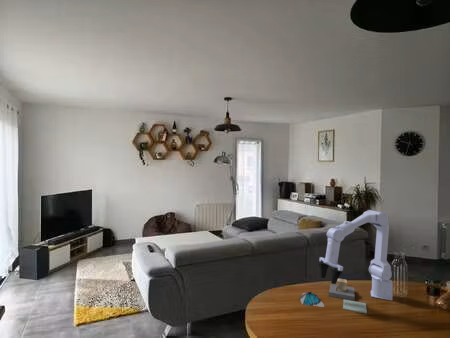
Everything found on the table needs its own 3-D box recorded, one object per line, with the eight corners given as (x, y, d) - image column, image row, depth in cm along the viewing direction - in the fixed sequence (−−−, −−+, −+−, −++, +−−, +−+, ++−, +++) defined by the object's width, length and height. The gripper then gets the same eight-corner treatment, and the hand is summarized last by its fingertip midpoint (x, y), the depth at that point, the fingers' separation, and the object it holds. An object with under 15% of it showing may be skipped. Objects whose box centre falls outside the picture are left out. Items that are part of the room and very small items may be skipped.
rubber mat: (365, 304, 142) (365, 303, 142) (366, 313, 133) (366, 312, 133) (343, 300, 146) (343, 299, 146) (342, 309, 136) (342, 308, 136)
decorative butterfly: (296, 290, 148) (315, 285, 148) (299, 302, 148) (318, 298, 148) (300, 299, 138) (321, 294, 138) (304, 312, 138) (324, 307, 138)
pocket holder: (354, 291, 157) (354, 287, 157) (354, 300, 146) (354, 296, 146) (330, 287, 161) (330, 283, 161) (328, 296, 150) (328, 292, 150)
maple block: (346, 292, 155) (346, 279, 155) (346, 296, 151) (346, 282, 151) (337, 291, 156) (337, 278, 156) (337, 294, 152) (337, 281, 152)
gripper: (316, 248, 149) (312, 274, 149) (336, 256, 136) (331, 286, 135) (327, 249, 152) (323, 275, 151) (348, 257, 138) (343, 286, 138)
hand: (328, 280), depth 144 cm, fingers open, 7 cm apart
